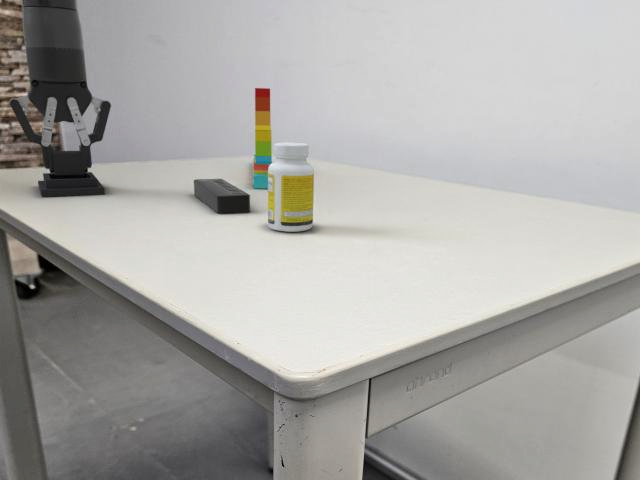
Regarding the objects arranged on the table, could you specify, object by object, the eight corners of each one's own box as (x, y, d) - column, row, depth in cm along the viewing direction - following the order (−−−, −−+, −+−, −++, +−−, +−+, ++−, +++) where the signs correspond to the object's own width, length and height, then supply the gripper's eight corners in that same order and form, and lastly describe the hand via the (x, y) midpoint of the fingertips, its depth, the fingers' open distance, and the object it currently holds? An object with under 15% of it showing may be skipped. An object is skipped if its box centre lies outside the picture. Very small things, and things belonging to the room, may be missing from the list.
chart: (252, 164, 130) (252, 86, 124) (268, 164, 130) (268, 86, 125) (251, 188, 102) (251, 89, 96) (271, 188, 102) (272, 90, 97)
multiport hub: (218, 213, 83) (217, 196, 82) (193, 194, 95) (193, 179, 94) (250, 212, 84) (250, 194, 83) (222, 193, 97) (222, 178, 96)
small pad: (55, 175, 91) (52, 154, 90) (53, 171, 95) (51, 151, 94) (84, 174, 93) (82, 153, 92) (81, 170, 96) (79, 150, 95)
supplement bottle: (321, 227, 77) (323, 144, 74) (294, 235, 73) (296, 147, 69) (286, 220, 80) (286, 140, 76) (258, 228, 76) (257, 143, 72)
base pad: (41, 197, 90) (39, 181, 89) (38, 187, 97) (36, 172, 96) (105, 194, 93) (103, 179, 92) (97, 185, 100) (96, 171, 99)
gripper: (-3, 42, 82) (16, 177, 88) (111, 47, 87) (122, 174, 94) (-3, 43, 88) (15, 169, 94) (104, 48, 94) (114, 167, 100)
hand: (68, 171), depth 94 cm, fingers closed on small pad, 4 cm apart
